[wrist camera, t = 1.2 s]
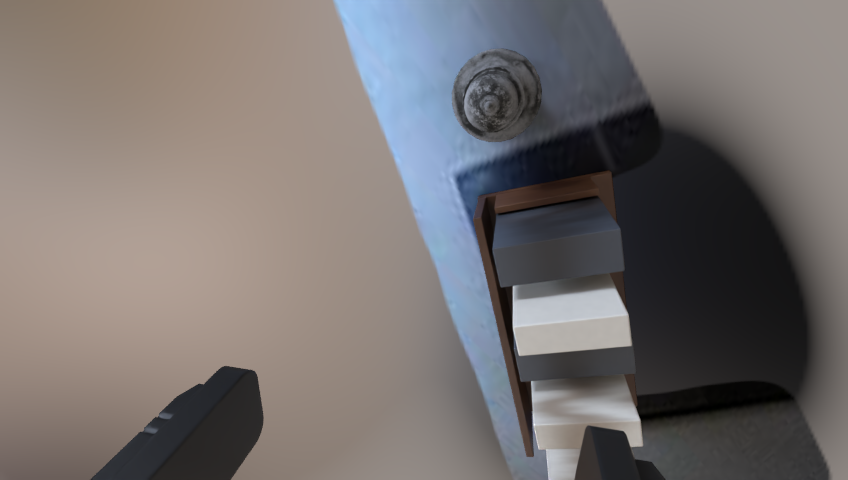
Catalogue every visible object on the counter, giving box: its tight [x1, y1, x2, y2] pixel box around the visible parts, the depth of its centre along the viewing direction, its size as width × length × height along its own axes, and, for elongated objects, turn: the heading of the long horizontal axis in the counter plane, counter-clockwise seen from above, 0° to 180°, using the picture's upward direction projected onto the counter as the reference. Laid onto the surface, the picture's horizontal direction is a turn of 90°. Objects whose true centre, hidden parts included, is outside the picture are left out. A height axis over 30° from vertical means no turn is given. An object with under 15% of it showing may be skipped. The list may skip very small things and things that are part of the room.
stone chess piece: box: [452, 49, 542, 142], centre depth 26 cm, size 6×6×12 cm
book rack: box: [473, 170, 643, 480], centre depth 30 cm, size 10×22×13 cm, turn 14°
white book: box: [513, 273, 632, 356], centre depth 28 cm, size 6×2×12 cm, turn 104°
